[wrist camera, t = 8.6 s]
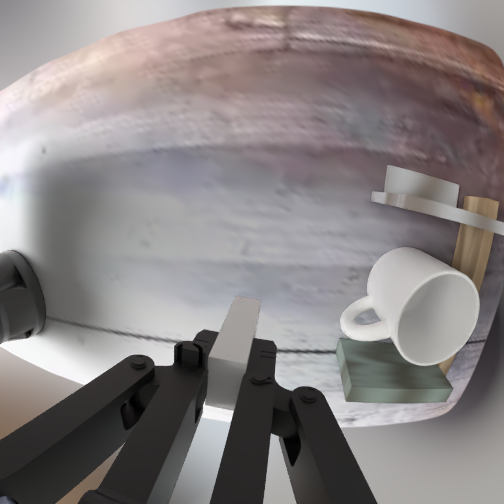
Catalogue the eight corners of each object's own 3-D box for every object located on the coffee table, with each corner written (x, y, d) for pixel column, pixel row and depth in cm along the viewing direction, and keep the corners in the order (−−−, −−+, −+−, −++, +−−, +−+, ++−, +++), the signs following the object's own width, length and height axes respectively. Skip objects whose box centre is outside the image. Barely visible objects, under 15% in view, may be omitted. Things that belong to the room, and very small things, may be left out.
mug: (341, 336, 31) (357, 393, 21) (323, 268, 30) (338, 307, 20) (435, 303, 29) (479, 344, 19) (425, 235, 27) (477, 257, 17)
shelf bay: (332, 363, 32) (341, 421, 22) (376, 162, 27) (414, 152, 17) (424, 369, 31) (452, 418, 21) (475, 191, 25) (530, 197, 16)
